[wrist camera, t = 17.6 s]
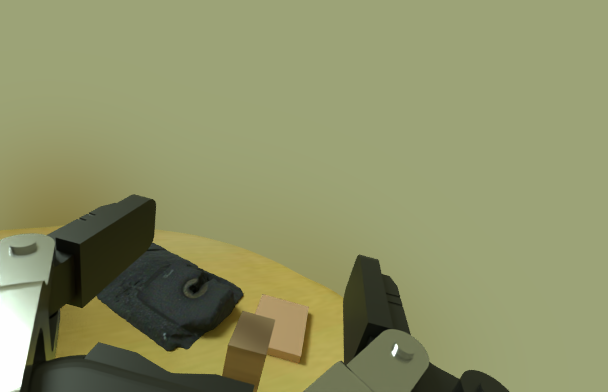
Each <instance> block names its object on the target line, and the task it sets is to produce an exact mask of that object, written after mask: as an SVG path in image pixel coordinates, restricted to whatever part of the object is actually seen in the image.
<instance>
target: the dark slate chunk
mask: <svg viewBox="0 0 608 392" xmlns="http://www.w3.org/2000/svg"><path fill="white" fill-rule="evenodd" d="M96 296H97V298H98V299H99V300H101V302H102V303H104V304H106V305H107V306H108V307H109V308H110V309H112V310H113V311H114V312H115V313H117V314H118V315H119V316H120V317H122V318H124V319H126V321H127V322H129V323H130V324H131V325H133V326H134V327H135V328H137V329H138V330H140V331H141V332H142V333H144V334H145V335H147V336H148V337H149V338H150V339H152V340H154V341H155V342H156V343H157V344H158V345H159V346H161V347H163V348H164V349H165V350H166V351H170V350H173V349H175V347H177V346H178V347H181V348H184V349H189V348H190V347H191V346H192V344H193V343H194V342H195V341H196V340H198V339H199V338H200V337H201V336H202V335H203V334H204V333H205V332H208V331H210V330H212V329H214V328H215V327H217V326H218V325H219V324H220V323H221V322H222V321H223V320H224V319H225V318H226V317H227V316H228V315H229V314H230V313H231V312H232V310H233V308H234V307H235V304H236V303H238V300H239V299H240V298H241V296H243V293H242V291H241V289H240V288H239V287H237V286H236V285H234V284H233V283H231V282H229V281H227V280H225V279H223V278H220V277H218V276H216V275H214V274H211V273H209V272H207V271H204V270H203V269H200V268H198V266H197V265H195V264H193V263H191V262H190V261H188V260H185V259H183V258H181V257H179V256H178V255H175V254H173V253H170V252H169V251H167V250H166V249H164V248H162V247H161V246H159V245H156V244H155V243H152V244H151V246H150V247H149V249H148V250H147V251H146V252H145V253H144V254H143V255H141V256H140V257H139V258H138V259H137V260H136V261H135V262H134V263H132V264H131V265H130V266H129V267H128V268H127V269H126V270H125V271H123V272H122V273H121V274H120V275H119V276H118V277H117V278H116V279H114V280H113V281H112V282H111V283H110V284H109V285H108V286H107V287H105V288H104V289H103V290H102V291H101V292H100V293H99V294H98V295H96Z"/></svg>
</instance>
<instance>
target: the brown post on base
mask: <svg viewBox="0 0 608 392" xmlns="http://www.w3.org/2000/svg"><path fill="white" fill-rule="evenodd" d="M274 324H275V319H271V318H267V317H264V316H260V315H256V314H253V313H249V312H245V311H242V313H241V316H240V318H239V320H238V323H237V325H236V328H235V330H234V332H233V335H232V337H231V339H230V342H229V344H228V349H227V354H226V359H225V364H224V369H223V374H222V376H224V377H227V378H231V379H235V380H238V381H242V382H245V383H249V384H253V385H254V389H253V392H257V389H258V385H259V381H260V377H261V374H262V370H263V366H264V362H265V358H266V354H267V351H268V347H269V343H270V339H271V335H272V331H273V327H274Z"/></svg>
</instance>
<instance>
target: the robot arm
mask: <svg viewBox="0 0 608 392" xmlns="http://www.w3.org/2000/svg"><path fill="white" fill-rule="evenodd" d="M155 214H156V203H155V201H154V200H153V199H150V198H146V197H142V196H138V195H131V196H129V197H127V198H125V199H124V200H122V201H120V202H118V203H113V204H110V205H105V206H101V207H99V208H97V209H95V210H93V211H92V212H90V213H89V214H86V215H84V216H82V217H80V219H79V220H78V219H76V220H75V221H73V222H71V223H69V224H67V225H65V226H63V227H61V228H59V229H58V230H56V231H54V232H52V233H50V234H48V235H43V234H20V235H14V236H10V237H7V238H4V239H1V240H0V392H253V389H254V385H253V384H249V383H245V382H242V381H238V380H235V379H231V378H227V377H224V376H220V375H216V374H179V373H170V372H168V371H166V370H164V369H163V368H161V367H159V366H158V365H156V364H154V363H153V362H151V361H149V360H148V359H146V358H145V357H143V356H141V355H140V354H138V353H136V352H132V351H129V350H125V349H121V348H118V347H114V346H110V345H107V344H103V343H99V342H98V343H97V345H96V346H95V347H94V348H93V349H92V350H91V351H90V352H89V353H88V354H87V355H76V356H67V357H61V358H56V359H55V355H56V347H57V339H58V331H59V323H60V308H61V307H63V306H64V305H65V304H69V305H73V306H77V307H80V308H83V307H84V306H85V305H86V304H87V303H89V302H90V301H91V300H92V299H93V298H94V297H95V296H96V295H98V294H99V293H100V292H101V291H102V290H103V289H104V288H105V287H107V286H108V285H109V284H110V283H111V282H112V281H113V280H114V279H116V278H117V277H118V276H119V275H120V274H121V273H122V272H123V271H125V270H126V269H127V268H128V267H129V266H130V265H131V264H132V263H134V262H135V261H136V260H137V259H138V258H139V257H140V256H141V255H143V254H144V253H145V252H146V251H147V250H148V249H149V247H150V246H151V244H152V241H153V238H154V229H155ZM343 324H344V363H343V362H342V361H339V362H337V363H336V364H334V365H333V366H332V367H331V368H330V369H329V370H327V371H326V372H325V373H324V374H323V375H322V376H320V377H319V378H318V379H317V380H316V381H315V382H314V383H312V384H311V385H310V386H309V387H308V388H307V389H306V390H304V391H303V392H509V391H508V390H507V389H506V388H505V387H504V386H503V385H502V384H501V383H500V382H498V381H497V380H495V379H494V378H492V377H490V376H489V375H487V374H485V373H483V372H480V371H475V370H468V371H465V372H464V373H463V374H462V376H461V378H460V379H458V378H456V377H454V376H453V375H451V374H449V373H447V372H445V371H443V370H441V369H440V368H438V367H436V366H434V365H433V364H431V363H430V362H429V356H428V354H427V351H426V350H425V348H424V347H423V346H422V344H421V343H419V341H417V340H416V339H415V338H414V337H412V336H411V334H410V331H409V327H408V324H407V320H406V316H405V313H404V309H403V307H402V302H401V299H400V295H399V291H398V287H397V285H396V284H395V283H394V281H393V280H392V279H391V278H390V276H387V275H383V274H381V270H380V264H379V261H378V259H374V258H370V257H366V256H362V255H358V256H357V259H356V261H355V264H354V267H353V270H352V272H351V275H350V278H349V281H348V284H347V286H346V290H345V294H344V300H343Z"/></svg>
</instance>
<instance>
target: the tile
mask: <svg viewBox="0 0 608 392" xmlns="http://www.w3.org/2000/svg"><path fill="white" fill-rule="evenodd" d="M308 309H309V307H308V306H304V305H300V304H297V303H293V302H290V301H286V300H282V299H279V298H275V297H271V296H268V295H264V294H262V297H261V299H260V302H259V305H258V307H257V310H256V312H255V314H256V315H260V316H264V317H267V318H271V319H275V324H274V327H273V331H272V335H271V339H270V343H269V347H268V351H267V354H268V355H271V356H275V357H278V358H282V359H285V360H289V361H292V362H296V363H299V361H300V358H301V353H302V347H303V341H304V334H305V328H306V321H307V315H308Z"/></svg>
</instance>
